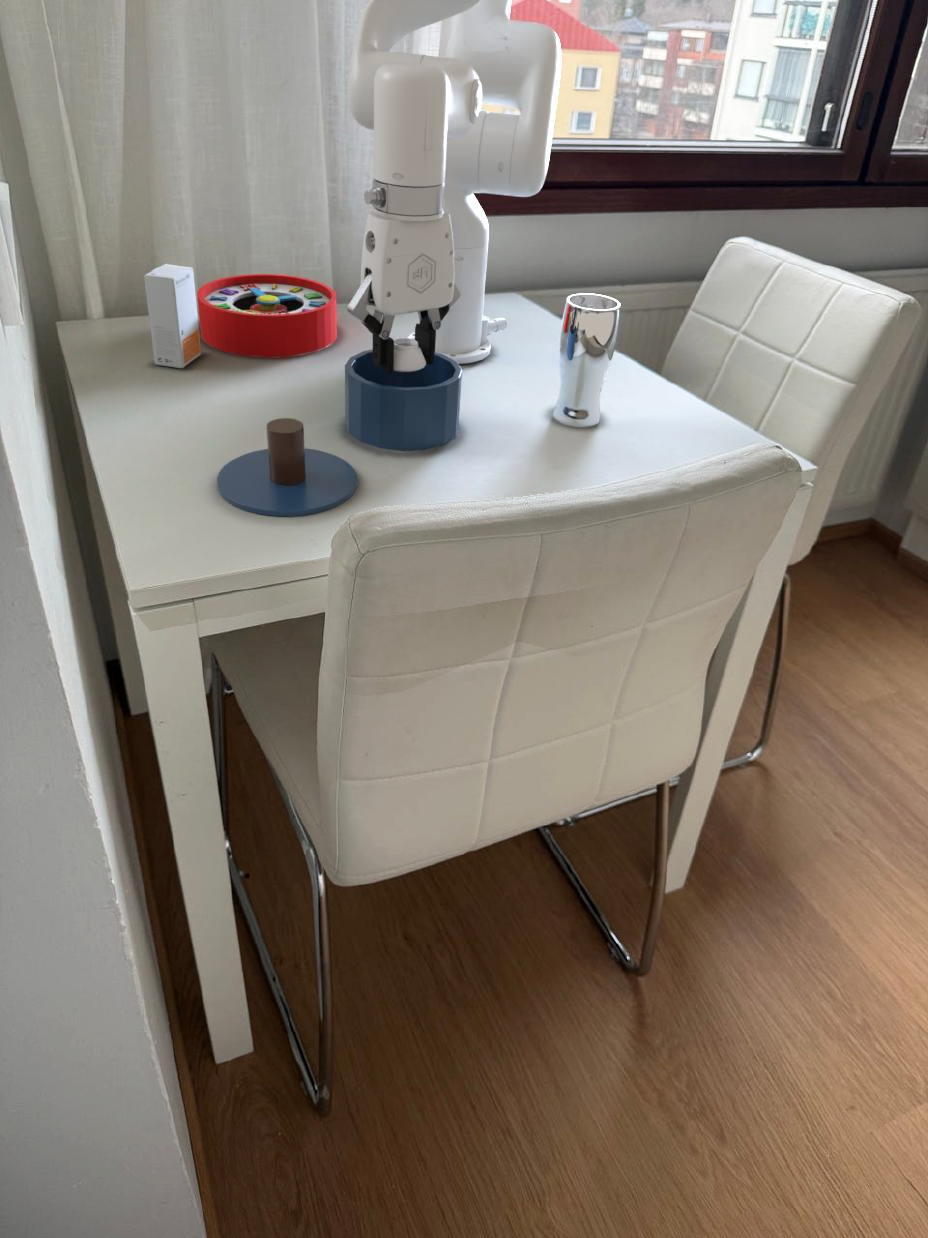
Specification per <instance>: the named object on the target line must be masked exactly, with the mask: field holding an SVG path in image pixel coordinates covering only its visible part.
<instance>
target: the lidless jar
mask: <svg viewBox="0 0 928 1238" xmlns="http://www.w3.org/2000/svg"><path fill="white" fill-rule="evenodd" d="M393 340H394V366H393V370H394V371H399V372H413V371H417V370H420V369H422V368H424V367H425V365H426V361H425V358H424V356H423V354H422V351H421V349H420V348H419V347H418V342H417V341H416V340H414V339H410V338H407V337H397V338H393Z"/></svg>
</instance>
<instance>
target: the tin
mask: <svg viewBox="0 0 928 1238" xmlns="http://www.w3.org/2000/svg"><path fill="white" fill-rule="evenodd" d="M372 354H373V349H368V350H367V349H366V350H363V351H360V352H358V353H357V354H355V355H352V356H350V357H349V358H348V360H347V361H346V363H345V364H344V412H345V413H344V415H345V420H344V421H345V426H346V427H345V428H346V430H347V432H348V435H350V436H352V437H353V438H354V439H355V440H357V441H358V442H360V443H362V444H365V445H369V446H372V447H375V448H377V449H382V450H392V451H398V452H413V451H425V450H426V451H427V450H429V449H433V448H437V447H441V446H444V445H446V444H447V443H449V442H450V441H452V440H456V439H457V436H458V430H459V426H460V425H459V424H460V410H461V409H460V407H461V394H462V393H461V392H462V380H463V379H462V377H463V369H462V367H461V366H460V364H458V363H457V362H456V361H454V360H452V359H451V358H449V357H447V356H445V355H443V354H440V353H436V352H435V353H434V363H433V364H427V363H426V365H425V367H424V368H422V369H420V370H417V371H413V372H399V371H394V370H393V371H392V372H391V373H386V372H384V371H383V370H381V369H379V368H378V367H376V366H375V365H374V361H373V357H372Z"/></svg>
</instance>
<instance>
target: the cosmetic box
mask: <svg viewBox="0 0 928 1238" xmlns="http://www.w3.org/2000/svg"><path fill="white" fill-rule="evenodd" d="M143 280H144V288H145V296H146V303H147V304H146V305H147V311H148V319H149V327H150V335H151V336H150V337H151V344H152V352H153V360H154V364H155V365H156V366H163V367H170V368H177V369H185V367H187V365H189V364H190V363H191V362H193V361H194V360H196V359H197V358H198V357H200V356H202V348H201V347H202V346H201V335H200V325H199V314H198V304H197V294H196V285H195V274H194V268H193V267H191V266H184V265H176V264H170V263H165V264H162V265H161V266H159V267H155V268H154V269H152V270H151V271H149V272H148V273H146V274H144V275H143Z"/></svg>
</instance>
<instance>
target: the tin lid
mask: <svg viewBox="0 0 928 1238" xmlns="http://www.w3.org/2000/svg"><path fill="white" fill-rule="evenodd" d="M266 440H267V448H265V449H260V450H255V451H251V452H248V453H245V454H242V455H240V456H238V457H236V458H234V459H232V460H230V461H229V462H228V463H226V464H225V465H223V467H222V468H220V471H219V472H218V474H217V478H216V485H217V486H216V487H217V490H218V492H219V494H220V496H221V497H222V498H223V499H224V500H225V501H226V502H228V503H229V504H230V505H232V506H234V507H236V508H238V509H241V510H244V511H246V512H249V513H252V514H258V515H263V516H271V517H299V516H301V517H302V516H307V515H313V514H317V513H322V512H325V511H328V510H332V509H333V508H336V507H338V506H340V505H342V504H344V503H345V502H346V501H347V500H349V499H350V498H351V497H352V496H353V494H354V493H355V491H356V489H357V487H358V477H357V476H358V475H357V472H356V471H355V468H353V466H352V465H351V464H350V463H349V462H347V461H346V460H345V459H343V458H341V457H339V456H338V455H334V454H332V453H330V452H326V451H323V450H319V449H315V448H313V449H312V448H306V447H305V446H306V445H305V425H304V423H303V422H302V421H300V420H298V419H295V418H289V417H282V418H281V417H280V418H274V419H272V420H270V421H268V422H267V424H266Z"/></svg>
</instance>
